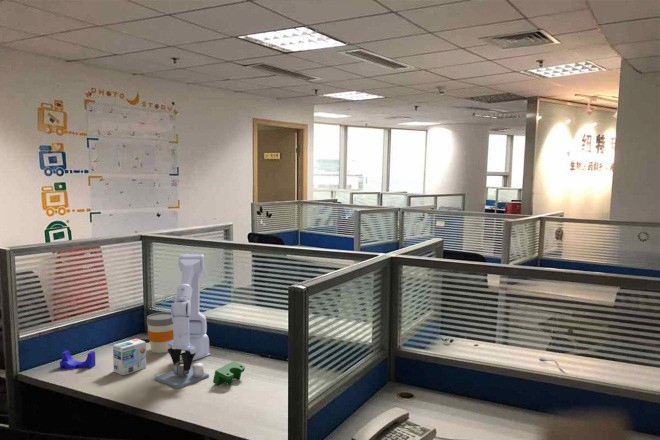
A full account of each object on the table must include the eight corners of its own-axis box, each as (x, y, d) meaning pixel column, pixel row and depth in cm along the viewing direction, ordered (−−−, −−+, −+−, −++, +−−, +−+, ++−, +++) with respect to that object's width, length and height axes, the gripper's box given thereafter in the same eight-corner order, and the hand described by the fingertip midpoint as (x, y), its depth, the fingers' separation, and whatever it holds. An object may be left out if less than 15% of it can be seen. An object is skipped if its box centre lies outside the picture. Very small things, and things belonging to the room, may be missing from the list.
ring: (182, 368, 200) (182, 359, 199) (192, 372, 197) (192, 363, 196) (170, 372, 195) (170, 363, 195) (180, 376, 192) (180, 367, 192)
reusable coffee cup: (170, 342, 237) (169, 310, 235) (181, 350, 227) (181, 316, 226) (142, 348, 229) (142, 315, 227) (153, 356, 219) (152, 321, 218)
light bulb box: (122, 375, 198) (121, 348, 197) (112, 371, 202) (112, 344, 201) (147, 367, 206) (146, 341, 205) (137, 363, 210) (136, 337, 210)
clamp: (226, 397, 190) (225, 380, 185) (214, 390, 193) (212, 373, 188) (247, 375, 199) (245, 358, 194) (234, 369, 202) (233, 352, 197)
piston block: (185, 368, 206) (185, 356, 206) (208, 376, 198) (208, 364, 197) (154, 379, 195) (154, 366, 194) (178, 388, 186) (178, 375, 186)
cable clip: (60, 369, 204) (59, 354, 204) (66, 365, 209) (65, 350, 208) (89, 370, 204) (89, 355, 203) (95, 365, 208) (95, 351, 208)
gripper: (160, 331, 196) (161, 366, 197) (185, 339, 187) (185, 375, 188) (176, 327, 201) (176, 361, 203) (200, 334, 193) (201, 370, 194)
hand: (181, 368), depth 196 cm, fingers closed on ring, 6 cm apart
